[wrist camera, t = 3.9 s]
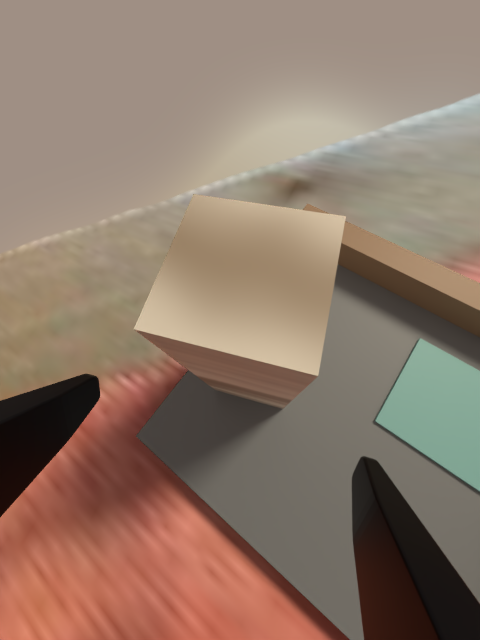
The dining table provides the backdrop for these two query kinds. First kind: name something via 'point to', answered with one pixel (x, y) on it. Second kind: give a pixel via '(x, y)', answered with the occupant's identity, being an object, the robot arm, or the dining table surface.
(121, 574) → the dining table surface
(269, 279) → the cream block
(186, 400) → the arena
